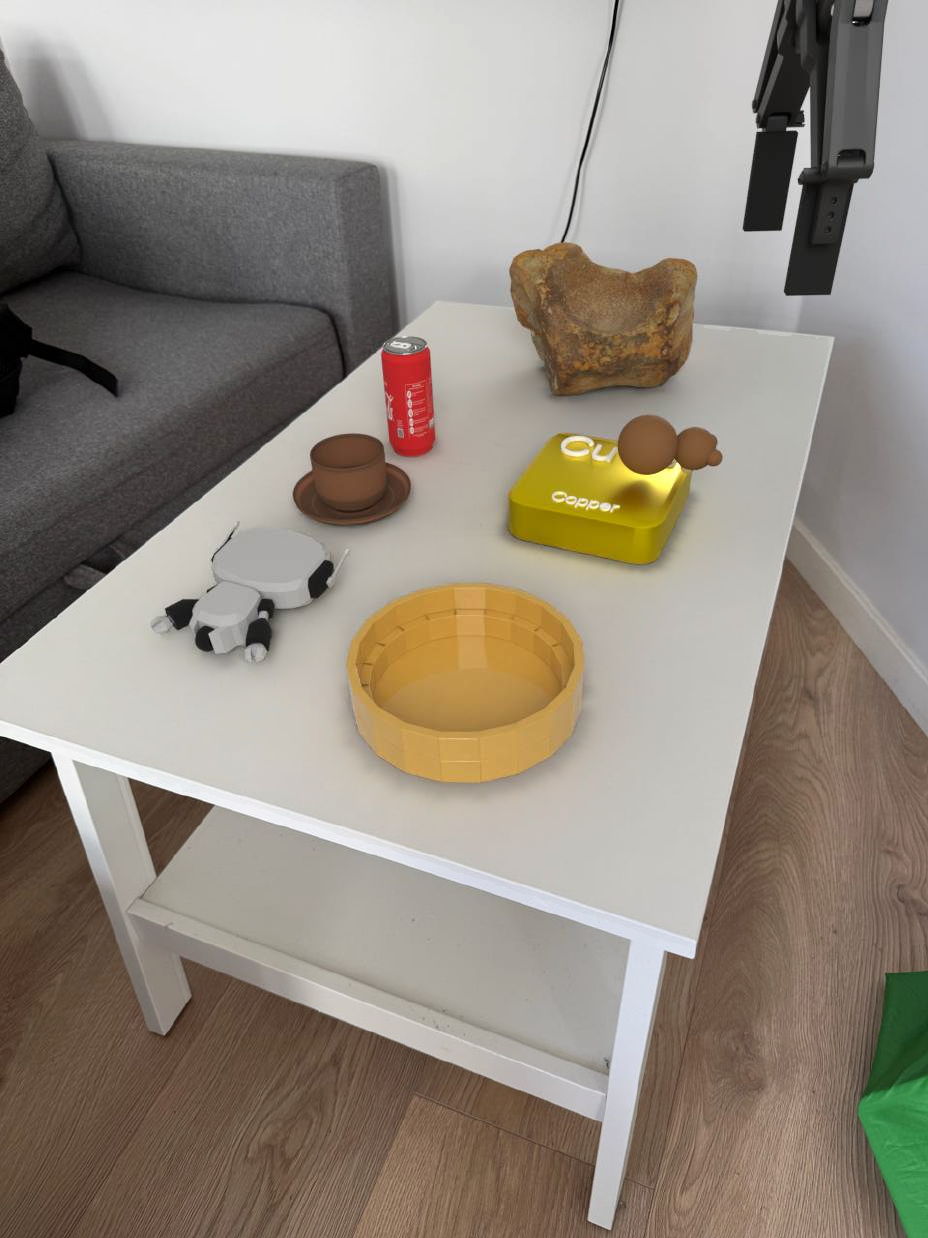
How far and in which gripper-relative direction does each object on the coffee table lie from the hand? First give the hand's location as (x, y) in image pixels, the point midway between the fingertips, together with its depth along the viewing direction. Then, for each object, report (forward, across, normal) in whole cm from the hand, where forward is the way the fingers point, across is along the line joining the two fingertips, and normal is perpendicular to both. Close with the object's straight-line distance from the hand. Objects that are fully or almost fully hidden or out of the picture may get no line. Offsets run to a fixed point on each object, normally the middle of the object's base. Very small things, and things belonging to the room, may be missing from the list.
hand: (782, 259), depth 62 cm
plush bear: (+20, -13, -9) cm, 26 cm away
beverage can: (+28, -27, -30) cm, 49 cm away
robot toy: (+29, +3, -41) cm, 50 cm away
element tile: (+29, -13, -10) cm, 33 cm away
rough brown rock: (+28, -44, -9) cm, 53 cm away
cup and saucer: (+29, -15, -35) cm, 48 cm away
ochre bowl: (+28, +14, -22) cm, 39 cm away
